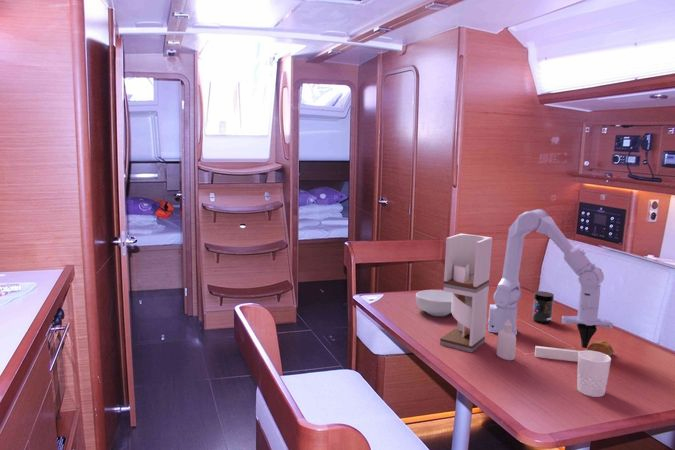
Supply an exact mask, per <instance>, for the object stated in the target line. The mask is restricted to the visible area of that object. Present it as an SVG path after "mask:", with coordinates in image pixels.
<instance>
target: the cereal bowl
mask: <svg viewBox="0 0 675 450" xmlns="http://www.w3.org/2000/svg"><path fill="white" fill-rule="evenodd" d="M415 301H416V304H417V306H418V308H419V309H421V310H422V311H424V312H426V314H428V315H430V316H434V317H446V316H447V315H449V314H452V312H451V305H452V293H450V292H445V291H443V290H441V289H426V290H421V291H418V292H416V293H415Z"/></svg>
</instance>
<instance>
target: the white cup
mask: <svg viewBox="0 0 675 450" xmlns="http://www.w3.org/2000/svg"><path fill="white" fill-rule="evenodd" d="M579 351H580V352H579V353H578V362H577V368H576V369H577V372H576V375H577V376H576V380H577V383H576V384H577V385H576V389H577V391H578V392H579V393H580V394H582V395H585V396H588V397H591V398H592V397H593V398H600V397H601V398H602V397H603V396H605V394H606V389H607V384H608V380H609V374H610V369H611V368H610V367H611V362H612V358H611V356H608V355H606V354H604V353H601V352H597V351H590V350H588V349H585V350H579Z"/></svg>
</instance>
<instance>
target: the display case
mask: <svg viewBox="0 0 675 450" xmlns="http://www.w3.org/2000/svg"><path fill="white" fill-rule="evenodd" d="M492 246H493V236H492V237H490V236H485V235H484V236H483V235H477V234H470V233H469V234H467V233H458V234H455V235H451V236H448V237H446V239H445V259H444V270H443V271H444V274H443V275H444V277H443V290H442V291H445V292H450V293H452V305H451V312H452V313H451V314H452V317H453V318H454V319H455V320H456V321H457V323H456V328H454V329H452V330H451V331H449V332H448V333H446V334H445V335H443V336H442V337H440V338H439V339H440V340H439V341H440V343H439V345H441V346H446V347H448V348H453V349H457V350H460V351H463V352H468V353H473V352H474V351H476V349H478V348H479V347H480V346H481V345H483V344H484V343H485V341H486V328H487V327H486V326H487V316H488V315H487V313H488V302H489V287H490V275H491V262H492V261H491V260H492V249H493V247H492Z"/></svg>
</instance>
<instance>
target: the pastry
mask: <svg viewBox="0 0 675 450" xmlns="http://www.w3.org/2000/svg"><path fill="white" fill-rule="evenodd" d="M587 350H590V351H597V352H601V353H604V354H606V355H608V356H609V357H611V356H613V354H614V353H615V350H614V349H613V347H612V345H611V343H610V342H608V341H605V340H597V341H595V342H593V343H591V344H590V345H588V346H587Z"/></svg>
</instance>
